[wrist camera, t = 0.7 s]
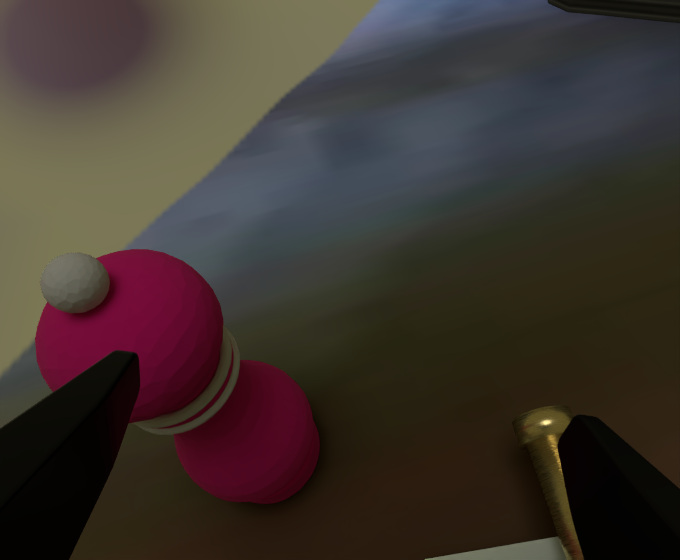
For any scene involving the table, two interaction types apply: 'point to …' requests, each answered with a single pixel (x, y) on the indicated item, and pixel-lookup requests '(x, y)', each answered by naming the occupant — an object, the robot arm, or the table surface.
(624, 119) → the table surface
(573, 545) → the hinge pin
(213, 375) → the pepper mill
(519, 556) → the hinge board
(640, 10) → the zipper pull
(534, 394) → the table surface
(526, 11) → the table surface
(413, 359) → the table surface
